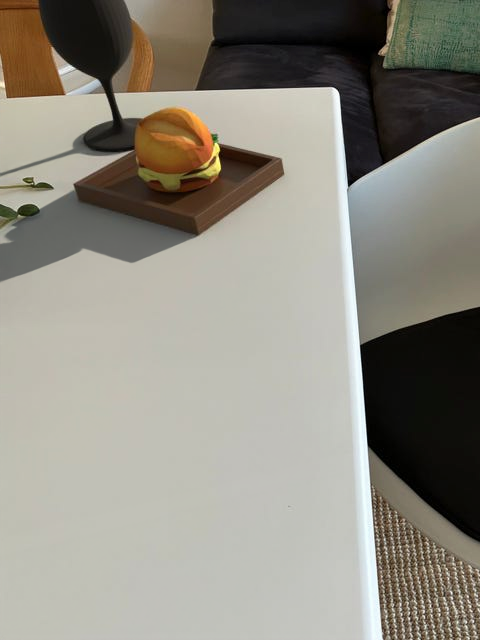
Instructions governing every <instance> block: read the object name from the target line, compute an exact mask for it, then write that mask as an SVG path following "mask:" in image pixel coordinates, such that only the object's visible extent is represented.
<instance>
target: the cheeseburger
mask: <svg viewBox="0 0 480 640" xmlns="http://www.w3.org/2000/svg"><path fill="white" fill-rule="evenodd" d="M142 118H143V119H142V120H141V121H140V122H138V124H137V127H136V132H135V149H134V150H135V152H136V161H137V164H138V167H139V170H138V174H139V176H140V177H141V178H142V179H143V180H145V182H146V184H147V185H148V186H149V187H151V188H153V189H155V190H157V191H164V192H186V191H190V190H195V189H199V188H201V187H203V186H206V185H208V184H210V183H212V182H213V181H214V180H215V179H216V178H218V173H219V172H220V170H221V166H220V161H219V157H218V154H219V151H220V149H219V146H218V144H217V143H219V135H218V134H217V133H213V132H212V133H211V132H210V130H209V128H208V126H206V124H205V123H204V122H203V121H202V120H201V118H199V116H198V115H196V114H195V113H193V112H192V111H190V110H188V109H186V108H183V107H178V106H171V107H166V108H162V109H159V110H157V111H155V112H153V113H150V114H148V115H147V116H144V117H142Z"/></svg>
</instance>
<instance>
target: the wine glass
mask: <svg viewBox="0 0 480 640" xmlns="http://www.w3.org/2000/svg"><path fill="white" fill-rule="evenodd" d="M37 3H38V11H39V16H40V20H41V24H42V27H43V30H44V33H45V35H46V37H47V40H48V42H49V44H50V46H51V47H52V48H53V50H54V51H55V52H56V53H57V55H59V58H61V59H62V60H63V61H65V62H66V63H67V64H68V65H69V66H71V67H72V68H74V69H76V70H77V71H79V72H80V73H82V74H85V75H87V76H89V77H91V78H93V79H96V80H97V81H98V82H99V83H100V84H101V86H102V89H103V91H104V93H105V96H106V99H107V101H108V105H109V107H110V111H111V112H110V113H111V116H112V120H107V121H105V122H102V123H99V124H96V125H94V126H93V127H91V128H89V129H88V130H87V131H86V132H85V133H84V134H83V135H82V136H83V137H82V142H83V145H85V146H86V147H87V148H88V149H90V150H93V151H97V152H104V153H106V152H107V153H115V152H126V151H130V150H135V132H136V127H137V124H138V122H140V121H141V120H142V119H143V118H144V117H124V118H123V116H122V114H121V112H120V109H119V107H118V106H119V105H118V103H117V99H116V95H115V91H114V87H113V78H114V76H115V75H116V74H117V73H118V72H119V71H120V70H121V68H123V66H124V65H125V63H126V62H127V60H128V59H129V56H130V54H131V52H132V50H133V49H132V48H133V44H134V27H133V21H132V17H131V14H130V11H129V7H128V5H127V4H126V1H125V0H37Z"/></svg>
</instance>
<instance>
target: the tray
mask: <svg viewBox="0 0 480 640" xmlns="http://www.w3.org/2000/svg"><path fill="white" fill-rule="evenodd" d="M216 143H217V144H218V146H219V149H220V151H219V154H218V157H219V161H220V166H221V170H220V172H219V173H218V178H216V179H215V180H214V181H213V182H212V183H210V184H208V185H206V186H203V187H201V188H199V189H195V190H190V191H186V192H164V191H157V190H155V189H153V188H151V187H149V186H148V185H147V184H146V182H145V180H143V179H142V178H141V177H140V176H139V174H138V170H139V167H138V164H137V161H136V152H135V149H133V150H132V151H130V152H128V153H126V154H124V155H122V156H121V157H119V158H116V160H114V161H112V162H110V163H108V164H107V165H105V166H103V167H100V168H99V169H98V170H96V171H93V172H92V173H90V174H88V175H86V176H85V177H83V178H81V179H79V180H77V181H75V182H74V183H72V185H73V188H74V191H75V193H76V196H77V199H78V201H79V202H82V203H85V204H90V205H93V206H96V207H99V208H103V209H106V210H110V211H114V212H117V213H121V214H124V215H127V216H131V217H134V218H138V219H141V220H145V221H148V222H152V223H155V224H157V225H158V224H159V225H162V226H165V227H169V228H172V229H175V230H179V231H183V232H186V233H189V234H194V235H197V236H200V235H201V234H203V233H205V232H206V231H207V230H209V229H210V228H211V227H213V226H214V225H216V224H218V223H219V221H221V220H223V219H224V218H225V217H227V216H229V215H230V214H231V213H232V212H234V211H235V210H237V209H238V208H240V207H241V206H243V205H244V204H246V203H247V202H248V201H250V200H251V199H252V198H253V197H255V196H256V195H258V194H259V193H261V192H262V191H263V190H264V189H266V188H268V187H269V186H270V185H272V184H274V183H275V182H276V181H278V180H279V179H280V178H282V177H283V176H285V169H284V164H283V163H284V162H283V158H282V157H278V156H273V155H270V154H265V153H263V152H258V151H253V150H249V149H245V148H241V147H236V146H232V145H228V144H223V143H220V142H216Z"/></svg>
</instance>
